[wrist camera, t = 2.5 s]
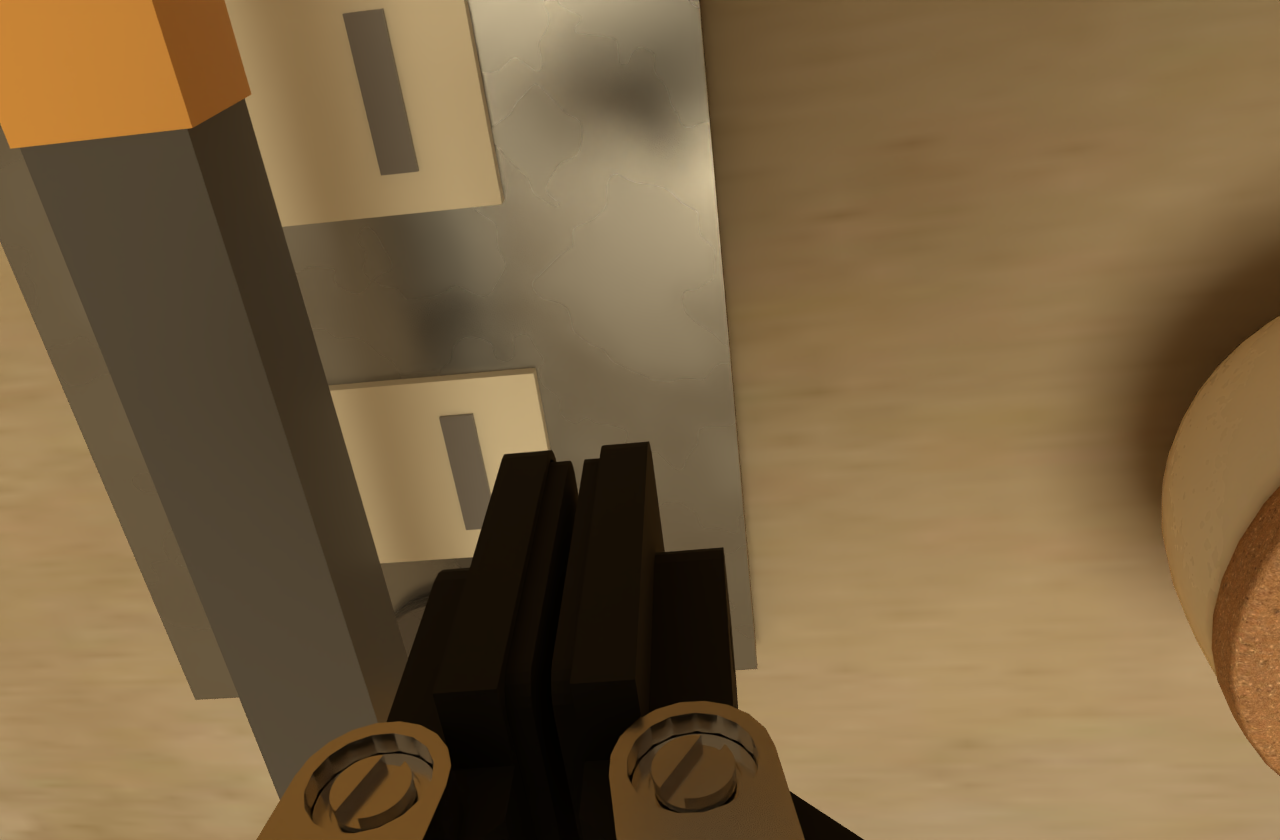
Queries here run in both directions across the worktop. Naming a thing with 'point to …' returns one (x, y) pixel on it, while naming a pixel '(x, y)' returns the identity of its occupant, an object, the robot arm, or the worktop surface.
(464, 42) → the label
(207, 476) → the cable arm
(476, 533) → the label
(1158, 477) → the worktop surface
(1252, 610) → the lidded jar
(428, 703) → the robot arm
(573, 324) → the plate
